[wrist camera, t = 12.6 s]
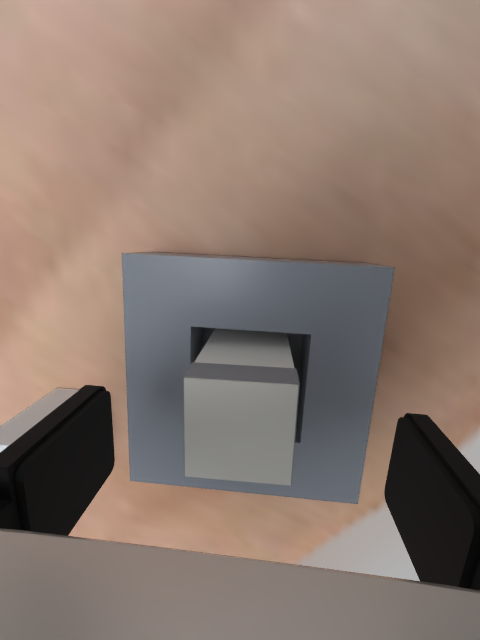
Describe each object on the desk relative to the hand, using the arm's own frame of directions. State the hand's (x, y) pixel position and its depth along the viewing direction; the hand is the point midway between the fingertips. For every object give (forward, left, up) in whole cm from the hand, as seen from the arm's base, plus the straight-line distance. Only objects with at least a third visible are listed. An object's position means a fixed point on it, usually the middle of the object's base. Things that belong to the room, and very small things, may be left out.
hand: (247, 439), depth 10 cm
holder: (0, +1, -9) cm, 9 cm away
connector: (0, +1, -8) cm, 8 cm away
